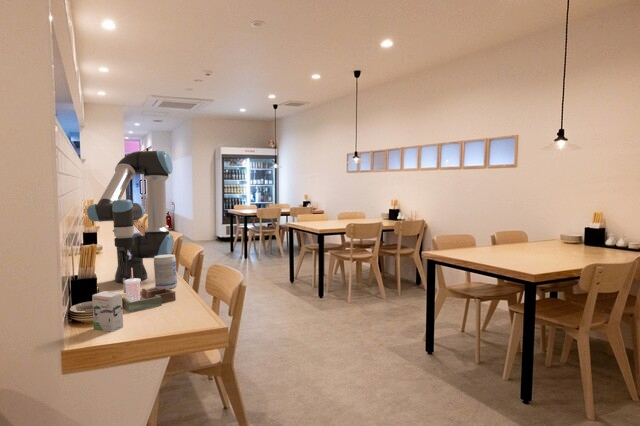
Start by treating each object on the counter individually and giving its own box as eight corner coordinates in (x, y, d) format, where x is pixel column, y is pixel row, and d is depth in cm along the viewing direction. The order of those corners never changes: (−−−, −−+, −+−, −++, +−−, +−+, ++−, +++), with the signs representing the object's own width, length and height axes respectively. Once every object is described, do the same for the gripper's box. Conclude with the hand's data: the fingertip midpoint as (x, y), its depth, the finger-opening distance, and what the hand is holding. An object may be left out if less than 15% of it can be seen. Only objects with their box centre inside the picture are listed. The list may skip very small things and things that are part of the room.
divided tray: (95, 305, 171) (95, 297, 170) (160, 293, 188) (160, 285, 187) (109, 316, 156) (109, 307, 156) (178, 301, 173) (178, 293, 173)
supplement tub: (179, 287, 197) (178, 256, 196) (158, 291, 192) (156, 258, 191) (174, 283, 205) (172, 253, 204) (153, 287, 200) (151, 255, 199)
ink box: (92, 329, 142) (90, 294, 142) (105, 324, 147) (103, 290, 146) (112, 332, 139) (110, 296, 138) (124, 327, 144) (122, 292, 143)
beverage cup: (134, 304, 171) (132, 269, 170) (122, 303, 174) (120, 268, 173) (145, 300, 177) (143, 266, 176) (133, 299, 179) (131, 265, 178)
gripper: (110, 236, 181) (113, 291, 183) (119, 239, 171) (122, 297, 173) (128, 234, 186) (131, 288, 188) (138, 237, 176) (142, 293, 178)
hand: (127, 292), depth 180 cm, fingers closed
